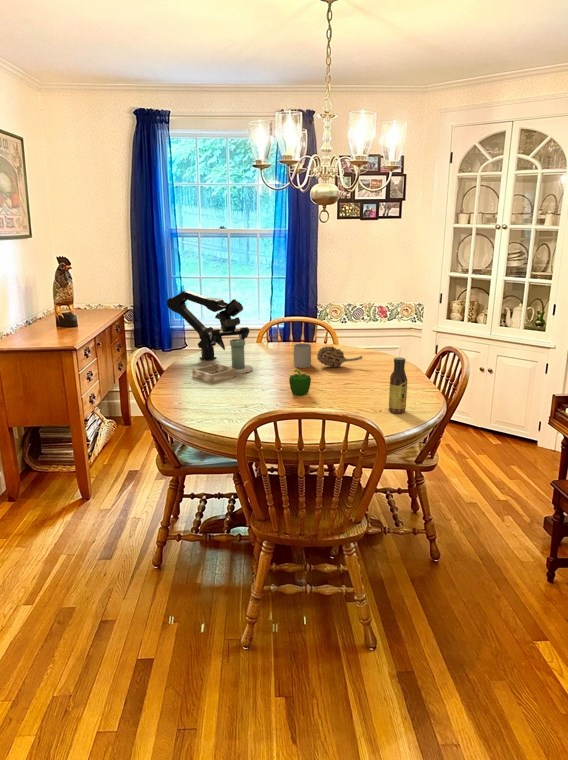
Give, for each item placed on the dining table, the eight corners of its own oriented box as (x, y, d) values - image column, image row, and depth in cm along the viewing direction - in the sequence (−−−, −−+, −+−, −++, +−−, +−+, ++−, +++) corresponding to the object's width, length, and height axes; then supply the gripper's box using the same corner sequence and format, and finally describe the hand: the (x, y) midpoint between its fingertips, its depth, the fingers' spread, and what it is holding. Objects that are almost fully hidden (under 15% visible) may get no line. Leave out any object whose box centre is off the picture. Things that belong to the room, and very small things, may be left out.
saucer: (221, 370, 263) (221, 368, 263) (240, 365, 271) (240, 363, 271) (238, 375, 255) (238, 372, 255) (257, 370, 263) (257, 367, 263)
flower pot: (227, 367, 263) (226, 340, 259) (239, 365, 267) (238, 338, 264) (237, 370, 258) (236, 342, 254) (248, 367, 263) (248, 340, 259)
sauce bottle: (404, 415, 202) (406, 361, 196) (386, 413, 204) (389, 360, 198) (407, 409, 208) (410, 357, 202) (390, 407, 210) (392, 355, 204)
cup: (313, 366, 268) (314, 346, 265) (298, 368, 265) (297, 348, 262) (306, 362, 275) (306, 342, 272) (291, 364, 272) (291, 344, 270)
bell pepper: (314, 395, 225) (314, 371, 222) (296, 398, 221) (296, 374, 218) (303, 390, 232) (303, 366, 229) (286, 393, 228) (286, 369, 225)
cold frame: (192, 377, 253) (192, 369, 252) (216, 370, 262) (216, 363, 261) (212, 382, 243) (211, 375, 242) (236, 376, 253) (236, 368, 252)
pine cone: (316, 369, 263) (316, 348, 260) (317, 364, 272) (317, 344, 270) (363, 370, 261) (364, 349, 258) (362, 364, 270) (363, 344, 268)
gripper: (210, 313, 263) (217, 340, 257) (247, 310, 270) (256, 337, 263) (206, 326, 272) (213, 353, 266) (242, 323, 279) (250, 350, 273)
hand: (233, 348), depth 267 cm, fingers open, 9 cm apart
